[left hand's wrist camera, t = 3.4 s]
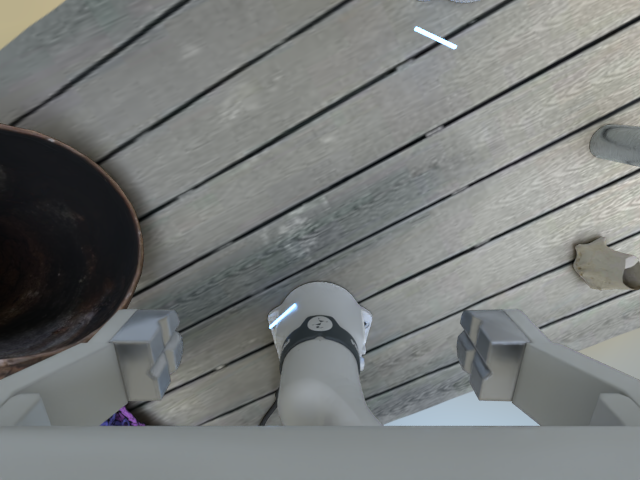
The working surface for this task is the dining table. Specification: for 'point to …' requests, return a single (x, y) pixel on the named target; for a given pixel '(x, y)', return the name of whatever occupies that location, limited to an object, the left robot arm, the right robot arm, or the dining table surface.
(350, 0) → the dining table surface
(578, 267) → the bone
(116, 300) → the pot
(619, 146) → the bottle
